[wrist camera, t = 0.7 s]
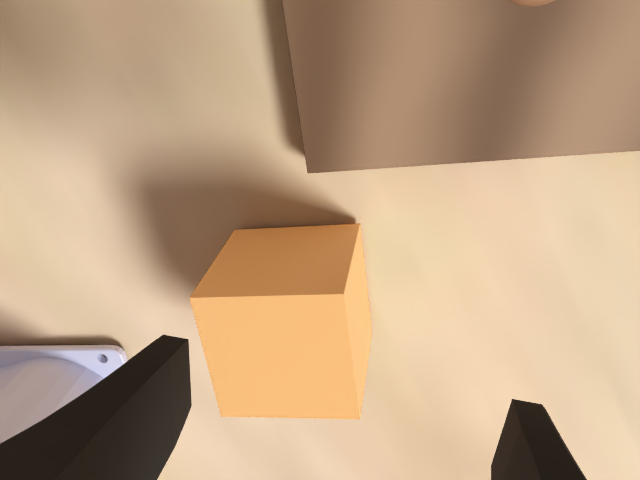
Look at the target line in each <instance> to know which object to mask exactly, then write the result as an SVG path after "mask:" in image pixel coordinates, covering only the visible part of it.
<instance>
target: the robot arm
mask: <svg viewBox="0 0 640 480" xmlns="http://www.w3.org/2000/svg"><path fill="white" fill-rule="evenodd" d="M102 354H104V355H105V356H106V357H104V356H103V355H102ZM190 408H191V385H190V364H189V343H188V339H183V338H178V337H172V336H167V335H162V336H161V337H159V338H158V339H156V340H155V341H154V342H152V343H151V344H150V345H148V346H147V347H146V348H144V349H143V350H142V351H140V352H139V353H138V354H136V355H135V356H134V357H132V358H131V359H130V360H128V359H127V356H126V353H125V352H124V350H123V349H122V348H121V347H119V346H116V345H56V346H0V480H157V479H158V477H159V475H160V473H161V471H162V470H163V468H164V466H165V464H166V462H167V460H168V459H169V457H170V455H171V453H172V451H173V449H174V447H175V445H176V443H177V441H178V438H179V436H180V433H181V431H182V429H183V426H184V424H185V421H186V418H187V416H188V413H189V411H190ZM491 480H587V479H586V478H585V476H584V475H583V473H582V471H581V470H580V468H579V466H578V465H577V463H576V461H575V460H574V458H573V456H572V455H571V453H570V451H569V450H568V448H567V446H566V445H565V443H564V441H563V439H562V438H561V436H560V434H559V432H558V431H557V429H556V427H555V425H554V423H553V422H552V420H551V418H550V416H549V415H548V413H547V411H546V409H545V408H544V407H543V405H542V404H536V403H531V402H525V401H520V400H514V399H512V402H511V405H510V408H509V411H508V414H507V417H506V421H505V424H504V427H503V430H502V433H501V436H500V440H499V443H498V446H497V449H496V452H495V455H494V458H493V462H492V465H491Z"/></svg>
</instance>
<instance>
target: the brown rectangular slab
mask: <svg viewBox="0 0 640 480" xmlns="http://www.w3.org/2000/svg"><path fill="white" fill-rule="evenodd" d="M282 2H283V9H284V16H285V22H286V29H287V36H288V43H289V50H290V56H291V63H292V70H293V77H294V84H295V91H296V97H297V104H298V111H299V118H300V125H301V132H302V138H303V145H304V152H305V159H306V166H307V173H320V172H334V171H349V170H364V169H378V168H393V167H408V166H422V165H437V164H452V163H466V162H481V161H496V160H510V159H525V158H540V157H554V156H569V155H583V154H598V153H613V152H627V151H640V0H282Z"/></svg>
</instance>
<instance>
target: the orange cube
mask: <svg viewBox="0 0 640 480" xmlns="http://www.w3.org/2000/svg"><path fill="white" fill-rule="evenodd" d="M190 302H191V305H192V309H193V313H194V317H195V320H196V324H197V328H198V332H199V335H200V339H201V343H202V347H203V350H204V354H205V358H206V362H207V365H208V369H209V373H210V377H211V380H212V384H213V388H214V392H215V395H216V399H217V403H218V407H219V410H220V414H221V417H271V418H325V419H360V416H361V408H362V401H363V394H364V387H365V379H366V372H367V365H368V358H369V350H370V343H371V336H372V328H371V319H370V310H369V300H368V291H367V282H366V273H365V264H364V255H363V245H362V236H361V227H360V224H342V225H322V226H302V227H282V228H261V229H241V230H234V232H233V233H232V235H231V236H230V238H229V239H228V241H227V242H226V244H225V245H224V247H223V248H222V250H221V251H220V253H219V254H218V256H217V257H216V259H215V260H214V262H213V263H212V265H211V266H210V268H209V269H208V271H207V272H206V274H205V275H204V277H203V278H202V280H201V281H200V283H199V284H198V286H197V287H196V289H195V290H194V292H193V293H192V295H191V296H190Z"/></svg>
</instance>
